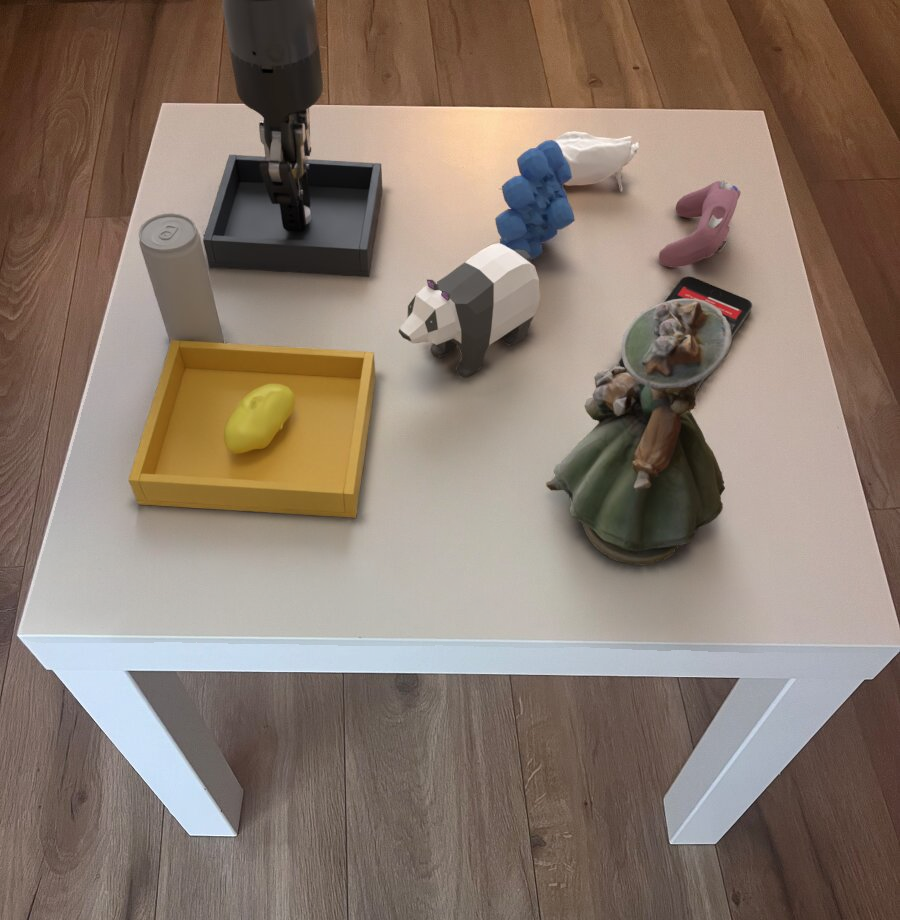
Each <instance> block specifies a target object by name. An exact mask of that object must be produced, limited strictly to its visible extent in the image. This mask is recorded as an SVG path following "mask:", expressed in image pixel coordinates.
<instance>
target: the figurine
mask: <svg viewBox="0 0 900 920" xmlns="http://www.w3.org/2000/svg"><path fill="white" fill-rule="evenodd" d="M663 302H664V301H663ZM663 302H661V303H658V304H656V305H654V306H652V307H650V308H649V309H647V310H645V311H643V312H641V313H640V314H638V316H636V317H635V318H634V319H633V320H632V321H631V323H630V324H629V325H628V326H627V328H626V330H625V331H624V333H623V337H622V341H621V348H620V356H621V358H622V360H623V363H624V366H625V368H626V369H625V368H624V367H621V366H618V365H613V366H612V367H611V368H609V370H608V371H604V370H602V371H599V372H596V374H594V385H595V388H594V390H593V392H592V396H591V397H589V398H587V399H586V401H585V403H584V409H585V412H586V413H587V415H589V417H590V418H591V419H592V420H593V421H596V422H597V421H598V423H597V424H596V425H595V426H594V427H593V429H591V431H590V432H589V433H588V434H587V435H586V436H585V437H583V439H582V440H581V441H580V442H579V443H577V445H576V446H575V447H574V448H573V449H572V450H571V451H570V452H569V453H568V454H567V455H566V456H565V457H564V458H563V459H562V460H561V461H560V462H559V463H558V464H556V466H555V467H554V469H553V475H554V477H553V478H552V479H550V481H547V482H546V483H545V486H546V487H547V488H548V489H549V490H550V491H555V492H556V491H557V492H558V491H564V493H566V495H568V497H569V498H570V502H571V504H570V509H569V511H570V515H571V517H572V518H574V519H575V520H578V521H580V522H581V523H582V526H583V529H584V532H585V534H586V536H587V538H588V540H589V541H590V543H591V544H592V545H593V546H594V547H595V548H596V549H597V550H598V551H599V552H601V553H602V554H605V555H607V556H608V558H610V559H611V560H613V561H616V562H619V563H624V564H630V565H633V566H641V565H642V566H648V565H652V564H654V563H657V562H662V561H665V560H666V559H668V558H669V557H671V556H672V555H673V554H674V553H675V551H676V550H677V549H679V548H680V547H681V546H682V545H686V544H688V543H690V542H691V541H692V540H693V539H694V537H696V531H697V530H699V529H701V527H704V526H706V525H708V524H710V523H711V522H713V521H714V520H716V519H717V518H718V517H719V516H720V514H721V513H722V511H723V509H724V506H723V505H724V504H723V502H722V494H723V493H724V491H725V489H726V486H725V485H724V484H725V481H724V477H723V472H722V470H721V468H720V465H719V462H718V460H717V458H716V455H715V453H714V452H713V450H712V448H711V447H710V446H709V444H708V442H707V441H706V438H705V436H704V433H703V431H702V429H701V428H700V426H699V424H698V422H697V420H696V419H695V417H694V414H693V413H692V412H691V411H692V410H694V409H695V407H696V396H695V395H696V392H695V390H696V386H697V381H700V380H702V379H704V378H705V379H706V378H707V377H708V376H710V375H711V374H713V373H714V372H715V371H716V370H717V369H718V367H719V366H720V365H721V364H722V363H723V362H724V361H725V359H726V357H727V355H728V353H729V352H730V351H729V350H730V348H731V345H732V342H733V337H732V334H731V329H730V324H729V323H728V321H727V320H726V318H725V317H724V316H723V315H722V312H721V310H719V309H718V308H717V307H715V306H714V305H712V304H710V303H707V302H705V301H703V300H697V299H685V298H684V299H675V300H670V301H667V302H664V303H663ZM626 370H627V371H628V373H627V371H626ZM705 379H704V380H705Z"/></svg>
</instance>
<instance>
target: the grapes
mask: <svg viewBox="0 0 900 920" xmlns="http://www.w3.org/2000/svg"><path fill="white" fill-rule="evenodd" d="M516 163H517V167H518V171H519V174H520V175H515V176H512V177H511V178H510V179H508V180H507V181H506V182H504V184H502V185H501V192H502V197H503V200H504V202H505V203H506V205H507V207H508V208H507V209H506V210H504V211H502V212H500V213H499V214H498V215H497V216H496V217H495V218H494V220H495V226H496V229H497V234H498V235H499V236H500V237H499V243H500V244H503V245H505V246H506V247H508V248H510V249H512V250H514V249H520V250H524V251H527V253H528V254H529V255H530V256H531V261H532V260H534V259H535V258H538V257H539V256H540V255H541V254H542V253H544V251H543V245H542V243H547V242H548V241H550V240H551V239H553V238H554V237H555V236H557V235H558V231H560V230H563V229H565V228H567V227H568V226H570V225H571V224H573V223H574V222H575V221H576V220H575V214H574V210H573V207H572V206H571V204H570V202H569V198H568V194H567V192H566V190H565V188H564V186H563V185H564V183H566V182H567V181H569V180H570V179H571V178H572V174H571V169H570V165H569V163H568V162H567V160H566V158H565V157H563V153H562V150H561V148H560V146H559V145H558V143H557V142H555V140H553V139H550V140H549V139H548V140H544V141H542V142H541V143H540V144H538V145H537V146H536V147H531V148H529V149H527V150H525V151H524V152H523V153H522V154H520V155H519V156H518V157H517V158H516Z"/></svg>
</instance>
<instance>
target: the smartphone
mask: <svg viewBox="0 0 900 920" xmlns="http://www.w3.org/2000/svg"><path fill="white" fill-rule="evenodd" d="M684 298H685V299H697V300H703V301H705V302H707V303H710V304H712V305H714V306H715V307H717V308H718V309H719V310H721V312H722V315H723V316H724V317H725V318H726V320H727V321H728V323H729V324H730V329H731V334H732V338H733V337H734V336H735V334H736V333H737V332H738V331H739V329H740V327H741V326H742V324H743V323H744V321H745V320H746V318H747V317H748V315H749V314H750V313H751V311H752V308H753V303H752V302H751V301H750V300H749V299H748V298H745V297H743V296H740V295H738V294H735V293H733V292H731V291H728V290H726V289H723V288H721V287H718V286H716V285H713V284H711V283H709V282H706V281H704V280H701V279H699V278H696V277H694V276H691V275H685V276H683V277H681V279H680V280H679V281H678V282H677V284H676V285H675V287H674V288H673V289H672V291H670V293H669V294H668V295H667V297H666V298H665V300H664V301H663V302H662V303H664V302H667V301H670V300H675V299H684ZM617 366H621V367H624V368H625V366H624V363H623V360H622V357H621V358H620V359H619V361H618V362H617ZM625 369H626V368H625ZM626 371H627V370H626ZM627 373H628V371H627ZM704 380H706V377H705V378H704V379H702V380H700V381H697V386H696V390H695V393H696V392H697V391H698V389H699V388H700V386H701V385H702V383H703V382H704Z"/></svg>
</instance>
